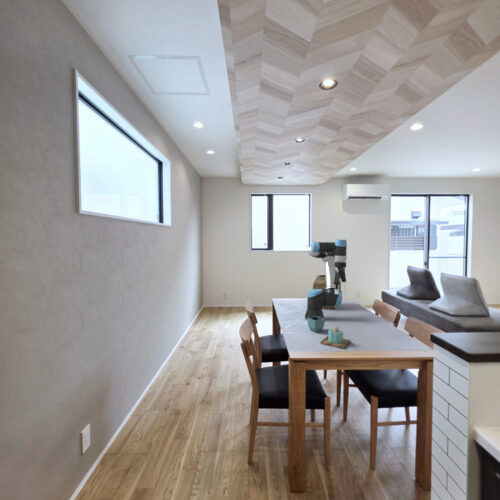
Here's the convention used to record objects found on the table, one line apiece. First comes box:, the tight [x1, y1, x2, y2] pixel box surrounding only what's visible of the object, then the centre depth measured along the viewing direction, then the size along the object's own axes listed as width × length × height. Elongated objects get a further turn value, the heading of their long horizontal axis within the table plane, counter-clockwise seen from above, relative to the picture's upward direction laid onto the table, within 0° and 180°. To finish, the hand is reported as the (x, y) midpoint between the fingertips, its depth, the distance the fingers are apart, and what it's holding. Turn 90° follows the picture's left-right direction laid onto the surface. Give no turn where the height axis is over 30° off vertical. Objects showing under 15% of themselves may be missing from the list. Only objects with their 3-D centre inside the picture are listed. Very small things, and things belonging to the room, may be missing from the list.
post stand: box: [320, 326, 351, 350], centre depth 164 cm, size 14×14×9 cm
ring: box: [327, 328, 344, 344], centre depth 164 cm, size 8×8×6 cm
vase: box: [312, 274, 343, 310], centre depth 251 cm, size 26×26×30 cm
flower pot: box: [306, 316, 326, 333], centre depth 186 cm, size 9×9×9 cm
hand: (339, 292), depth 186 cm, fingers open, 13 cm apart
